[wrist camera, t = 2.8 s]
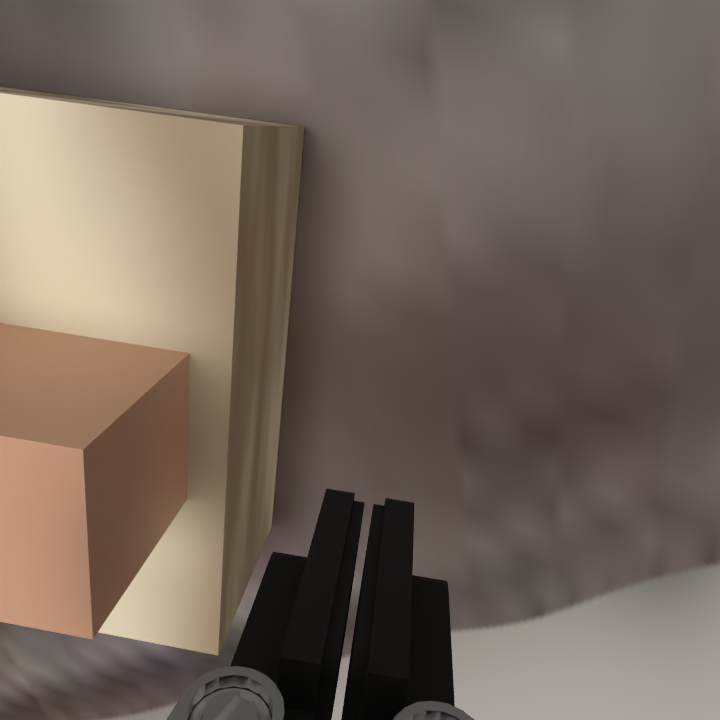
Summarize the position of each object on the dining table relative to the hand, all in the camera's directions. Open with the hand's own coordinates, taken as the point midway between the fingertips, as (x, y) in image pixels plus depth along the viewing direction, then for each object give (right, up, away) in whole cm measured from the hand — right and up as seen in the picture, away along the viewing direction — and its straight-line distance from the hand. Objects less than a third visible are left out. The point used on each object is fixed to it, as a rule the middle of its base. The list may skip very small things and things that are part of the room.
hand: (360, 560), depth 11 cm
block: (-7, +3, +3) cm, 8 cm away
